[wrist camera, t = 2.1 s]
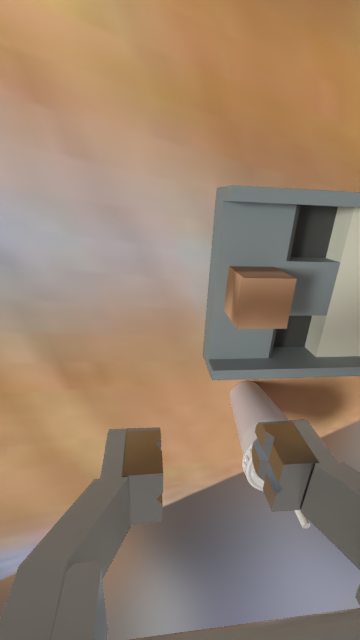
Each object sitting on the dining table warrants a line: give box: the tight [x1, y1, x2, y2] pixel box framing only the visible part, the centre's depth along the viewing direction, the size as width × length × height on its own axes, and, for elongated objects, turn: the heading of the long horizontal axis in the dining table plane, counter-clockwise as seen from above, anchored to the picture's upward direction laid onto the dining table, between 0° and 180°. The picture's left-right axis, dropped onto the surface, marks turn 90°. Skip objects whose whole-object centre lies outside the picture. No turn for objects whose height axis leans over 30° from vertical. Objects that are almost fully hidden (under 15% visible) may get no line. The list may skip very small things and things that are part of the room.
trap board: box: [203, 185, 360, 380], centre depth 26 cm, size 16×16×4 cm
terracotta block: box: [224, 266, 297, 329], centre depth 23 cm, size 4×4×4 cm
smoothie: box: [230, 381, 310, 528], centre depth 26 cm, size 6×6×14 cm
